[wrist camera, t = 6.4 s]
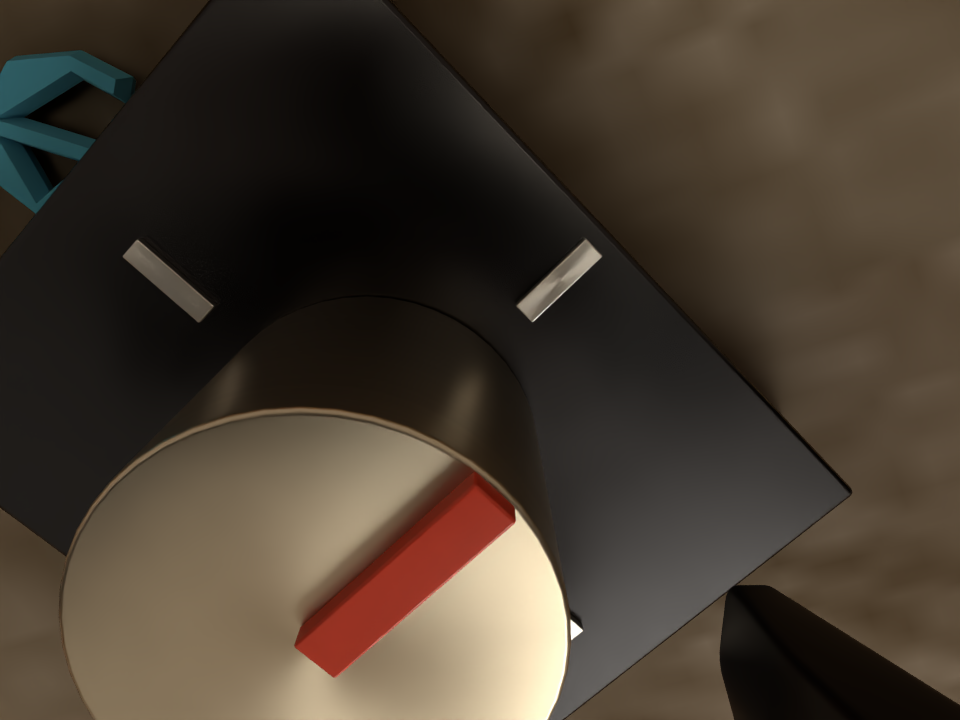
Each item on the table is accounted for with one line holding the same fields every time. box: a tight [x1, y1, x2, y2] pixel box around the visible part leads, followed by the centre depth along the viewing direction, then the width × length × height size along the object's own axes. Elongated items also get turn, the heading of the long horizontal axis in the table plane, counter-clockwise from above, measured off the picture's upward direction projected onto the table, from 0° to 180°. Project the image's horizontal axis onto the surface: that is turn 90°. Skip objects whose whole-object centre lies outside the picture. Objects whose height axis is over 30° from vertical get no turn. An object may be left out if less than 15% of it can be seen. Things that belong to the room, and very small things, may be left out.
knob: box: [59, 297, 571, 720], centre depth 10 cm, size 5×5×5 cm
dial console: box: [0, 0, 852, 720], centre depth 13 cm, size 12×10×3 cm
